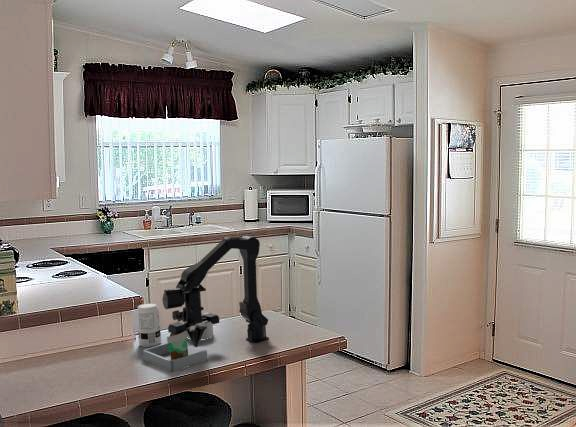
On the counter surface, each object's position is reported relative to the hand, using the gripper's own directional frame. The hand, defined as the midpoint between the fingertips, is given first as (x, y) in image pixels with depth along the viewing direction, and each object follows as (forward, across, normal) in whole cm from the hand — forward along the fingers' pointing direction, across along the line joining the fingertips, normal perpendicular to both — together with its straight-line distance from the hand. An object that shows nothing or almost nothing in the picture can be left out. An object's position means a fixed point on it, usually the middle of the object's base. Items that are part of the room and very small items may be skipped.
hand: (195, 346), depth 214 cm
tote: (+2, +9, 0) cm, 9 cm away
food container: (+2, +7, +2) cm, 7 cm away
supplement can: (+3, +5, -23) cm, 24 cm away
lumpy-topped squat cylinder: (+3, -13, -16) cm, 21 cm away
